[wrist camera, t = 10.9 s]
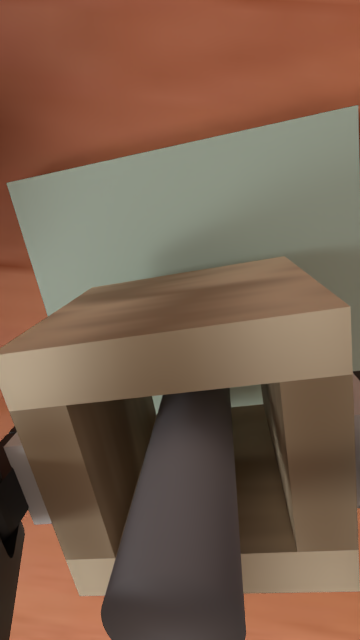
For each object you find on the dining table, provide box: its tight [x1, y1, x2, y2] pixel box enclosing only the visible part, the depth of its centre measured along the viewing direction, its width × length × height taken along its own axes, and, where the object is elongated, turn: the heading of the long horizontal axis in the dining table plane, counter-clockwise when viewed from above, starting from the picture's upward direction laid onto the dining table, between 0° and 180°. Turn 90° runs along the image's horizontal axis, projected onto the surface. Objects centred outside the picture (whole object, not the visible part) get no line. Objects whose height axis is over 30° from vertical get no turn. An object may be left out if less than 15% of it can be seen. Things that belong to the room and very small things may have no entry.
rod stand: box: [7, 105, 360, 640], centre depth 12 cm, size 15×18×14 cm
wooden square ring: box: [0, 256, 360, 596], centre depth 12 cm, size 8×8×7 cm
